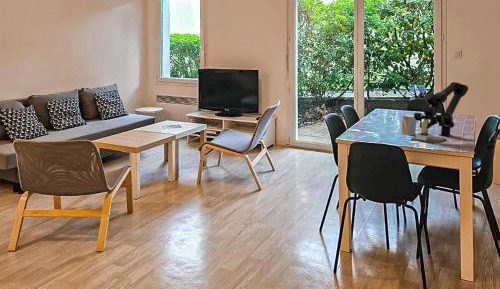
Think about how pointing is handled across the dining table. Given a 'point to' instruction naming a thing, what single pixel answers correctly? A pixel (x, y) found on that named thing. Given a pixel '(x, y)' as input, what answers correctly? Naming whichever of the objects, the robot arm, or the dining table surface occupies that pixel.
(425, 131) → the hinge pin
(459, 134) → the dining table surface
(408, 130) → the small box
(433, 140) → the cabinet panel
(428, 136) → the hinge clip
